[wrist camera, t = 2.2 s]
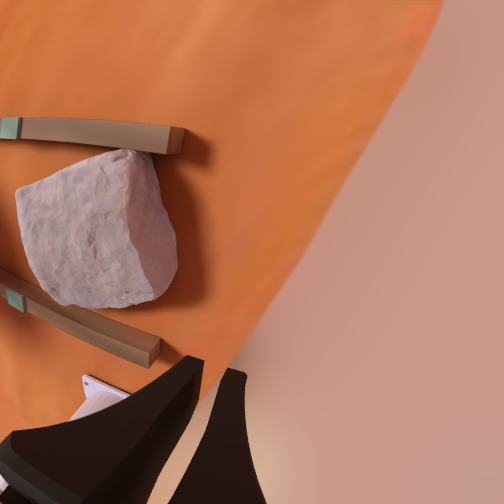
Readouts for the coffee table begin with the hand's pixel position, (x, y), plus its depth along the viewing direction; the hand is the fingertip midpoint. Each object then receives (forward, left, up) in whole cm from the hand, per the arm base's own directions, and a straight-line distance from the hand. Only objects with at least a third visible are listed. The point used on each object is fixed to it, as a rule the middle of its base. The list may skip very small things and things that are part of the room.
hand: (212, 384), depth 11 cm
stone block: (0, +11, -10) cm, 15 cm away
